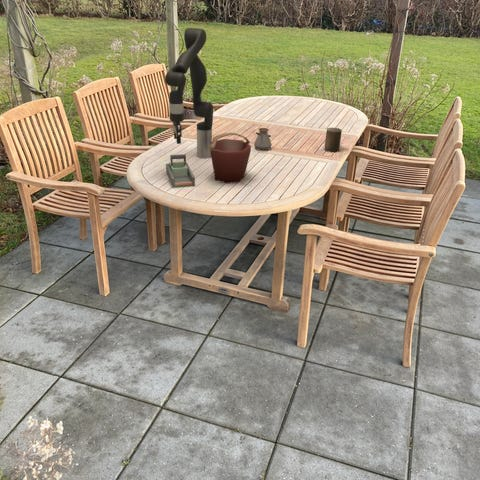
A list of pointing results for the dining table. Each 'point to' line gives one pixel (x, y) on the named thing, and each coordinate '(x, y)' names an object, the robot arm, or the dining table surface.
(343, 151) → the dining table surface
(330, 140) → the pillar candle
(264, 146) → the coffee pot
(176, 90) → the robot arm
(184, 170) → the box
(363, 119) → the dining table surface
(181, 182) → the bay
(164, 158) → the dining table surface
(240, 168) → the bucket
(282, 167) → the dining table surface
